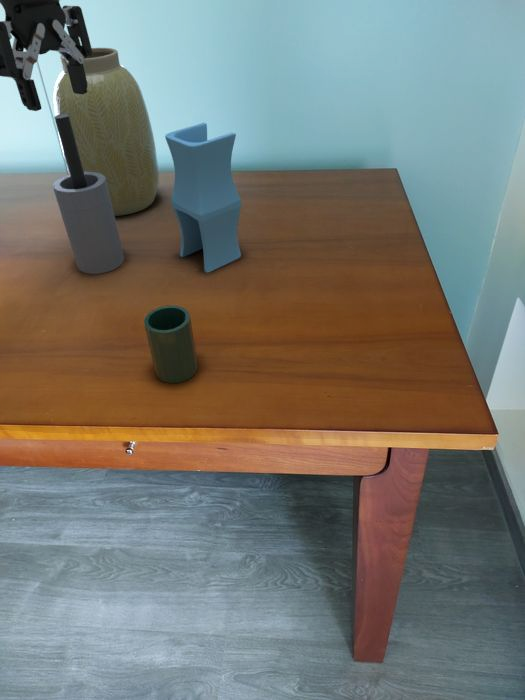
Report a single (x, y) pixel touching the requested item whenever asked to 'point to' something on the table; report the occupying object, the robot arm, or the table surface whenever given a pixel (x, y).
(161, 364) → the holder
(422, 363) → the table surface
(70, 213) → the cup
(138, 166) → the vase
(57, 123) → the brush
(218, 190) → the blue bent piece
